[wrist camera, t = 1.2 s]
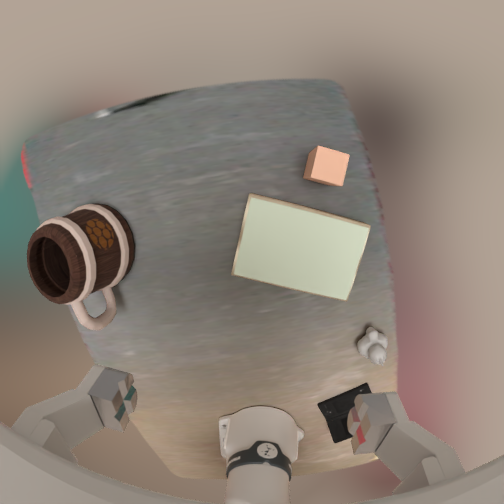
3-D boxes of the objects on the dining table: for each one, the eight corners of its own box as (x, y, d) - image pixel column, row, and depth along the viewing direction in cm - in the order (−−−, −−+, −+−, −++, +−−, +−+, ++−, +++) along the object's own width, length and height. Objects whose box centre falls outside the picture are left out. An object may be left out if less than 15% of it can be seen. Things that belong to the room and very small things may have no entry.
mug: (62, 218, 46) (6, 233, 32) (121, 189, 44) (65, 195, 30) (98, 314, 50) (54, 351, 36) (160, 298, 48) (121, 341, 34)
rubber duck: (356, 355, 48) (367, 381, 40) (352, 326, 47) (365, 350, 39) (383, 347, 48) (398, 371, 40) (381, 317, 46) (397, 340, 38)
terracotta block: (328, 185, 42) (342, 186, 33) (303, 178, 42) (310, 177, 33) (334, 160, 41) (349, 154, 32) (309, 152, 41) (318, 145, 32)
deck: (342, 293, 46) (347, 303, 42) (234, 268, 46) (230, 276, 42) (364, 222, 43) (372, 226, 39) (251, 192, 43) (248, 194, 39)
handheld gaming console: (363, 381, 48) (380, 426, 41) (372, 382, 53) (387, 422, 46) (312, 403, 52) (325, 447, 45) (325, 403, 57) (338, 442, 50)
